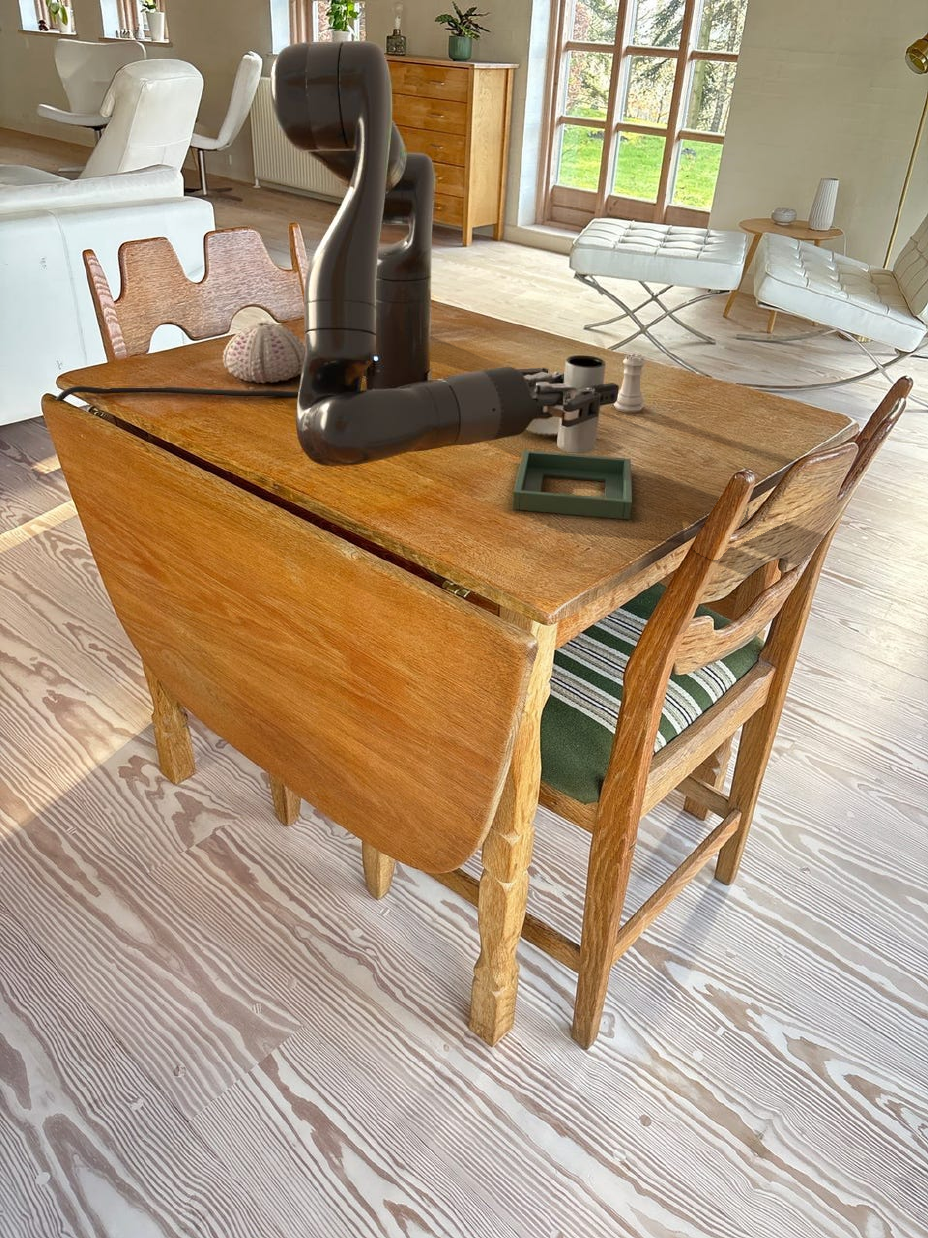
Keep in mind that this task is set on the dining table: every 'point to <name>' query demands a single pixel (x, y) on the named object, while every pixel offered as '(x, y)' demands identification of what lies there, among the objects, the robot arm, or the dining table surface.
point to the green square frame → (574, 467)
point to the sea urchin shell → (264, 353)
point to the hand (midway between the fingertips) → (601, 385)
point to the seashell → (544, 427)
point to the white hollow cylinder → (579, 375)
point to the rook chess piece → (631, 385)
